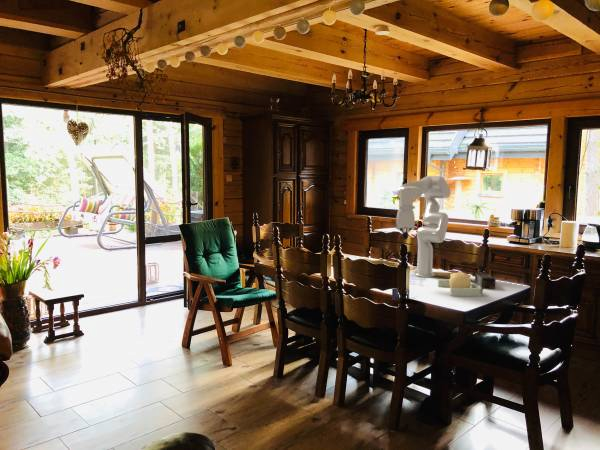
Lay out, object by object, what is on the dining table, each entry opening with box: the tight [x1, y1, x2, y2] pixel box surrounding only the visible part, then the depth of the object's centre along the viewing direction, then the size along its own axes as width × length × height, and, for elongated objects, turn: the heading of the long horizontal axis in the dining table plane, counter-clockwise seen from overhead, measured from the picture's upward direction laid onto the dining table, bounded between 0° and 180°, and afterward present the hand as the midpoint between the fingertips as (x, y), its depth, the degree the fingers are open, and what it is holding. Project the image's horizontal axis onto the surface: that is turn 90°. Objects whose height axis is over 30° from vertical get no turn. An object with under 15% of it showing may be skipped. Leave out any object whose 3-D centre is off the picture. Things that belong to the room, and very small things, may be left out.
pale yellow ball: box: [449, 271, 472, 289], centre depth 273 cm, size 11×12×11 cm
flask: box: [391, 288, 410, 301], centre depth 255 cm, size 9×3×11 cm, turn 96°
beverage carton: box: [474, 271, 497, 290], centre depth 288 cm, size 8×19×7 cm, turn 171°
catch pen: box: [437, 278, 484, 297], centre depth 274 cm, size 22×17×4 cm
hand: (404, 239), depth 286 cm, fingers closed
